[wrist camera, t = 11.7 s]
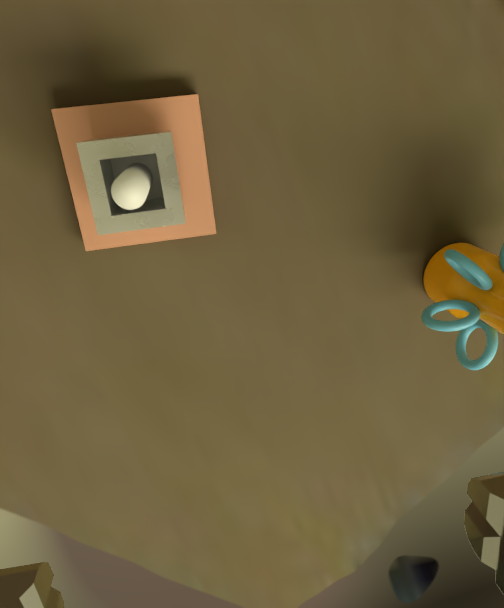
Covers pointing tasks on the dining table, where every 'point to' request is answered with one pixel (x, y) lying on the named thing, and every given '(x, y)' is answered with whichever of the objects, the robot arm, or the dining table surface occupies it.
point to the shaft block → (139, 165)
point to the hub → (101, 178)
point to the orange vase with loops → (467, 296)
